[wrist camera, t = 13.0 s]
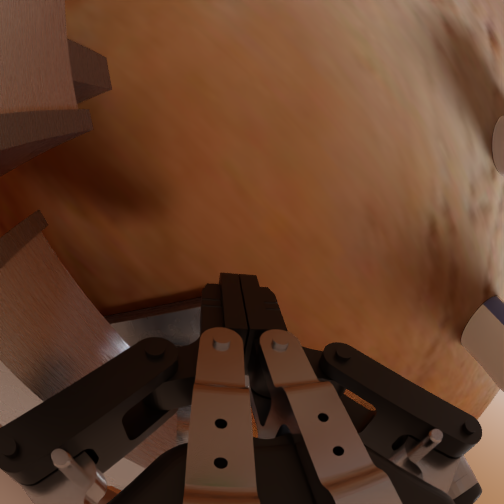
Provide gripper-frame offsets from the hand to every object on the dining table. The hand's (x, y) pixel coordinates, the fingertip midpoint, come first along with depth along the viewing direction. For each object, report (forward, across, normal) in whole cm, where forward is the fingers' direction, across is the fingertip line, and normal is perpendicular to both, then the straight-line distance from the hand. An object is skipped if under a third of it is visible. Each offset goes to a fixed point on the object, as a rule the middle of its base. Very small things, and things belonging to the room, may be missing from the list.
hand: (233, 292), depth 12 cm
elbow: (0, +6, +6) cm, 9 cm away
